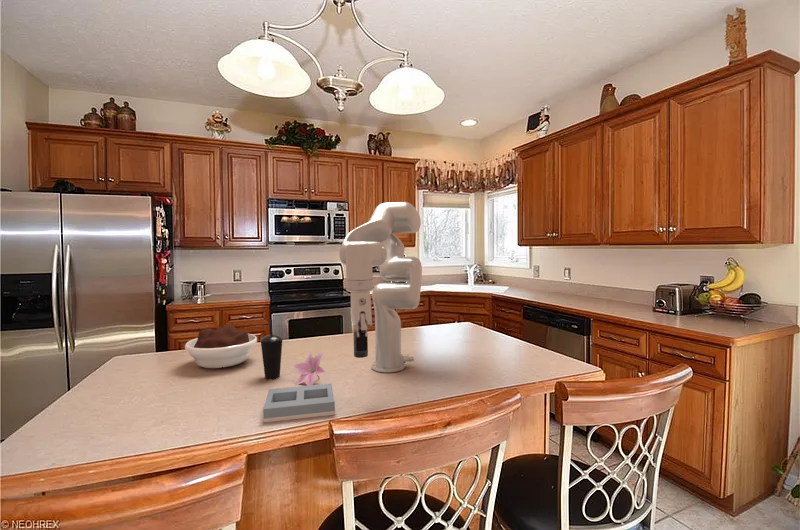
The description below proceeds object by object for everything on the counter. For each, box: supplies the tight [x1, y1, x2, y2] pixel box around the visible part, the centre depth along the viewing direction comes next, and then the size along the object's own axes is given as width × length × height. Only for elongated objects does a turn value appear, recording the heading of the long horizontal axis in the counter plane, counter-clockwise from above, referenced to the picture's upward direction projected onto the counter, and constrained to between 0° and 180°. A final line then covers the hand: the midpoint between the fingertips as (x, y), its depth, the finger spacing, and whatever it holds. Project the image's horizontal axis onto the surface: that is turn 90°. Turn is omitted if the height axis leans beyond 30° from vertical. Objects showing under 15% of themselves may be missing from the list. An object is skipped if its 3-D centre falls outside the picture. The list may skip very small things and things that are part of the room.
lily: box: [293, 352, 326, 386], centre depth 124 cm, size 12×12×10 cm
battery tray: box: [262, 383, 336, 423], centre depth 105 cm, size 18×14×4 cm
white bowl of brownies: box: [184, 324, 258, 369], centre depth 144 cm, size 25×25×15 cm
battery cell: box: [352, 324, 369, 359], centre depth 108 cm, size 4×4×10 cm
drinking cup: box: [259, 319, 284, 380], centre depth 129 cm, size 8×8×20 cm
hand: (360, 347), depth 109 cm, fingers closed on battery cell, 4 cm apart
